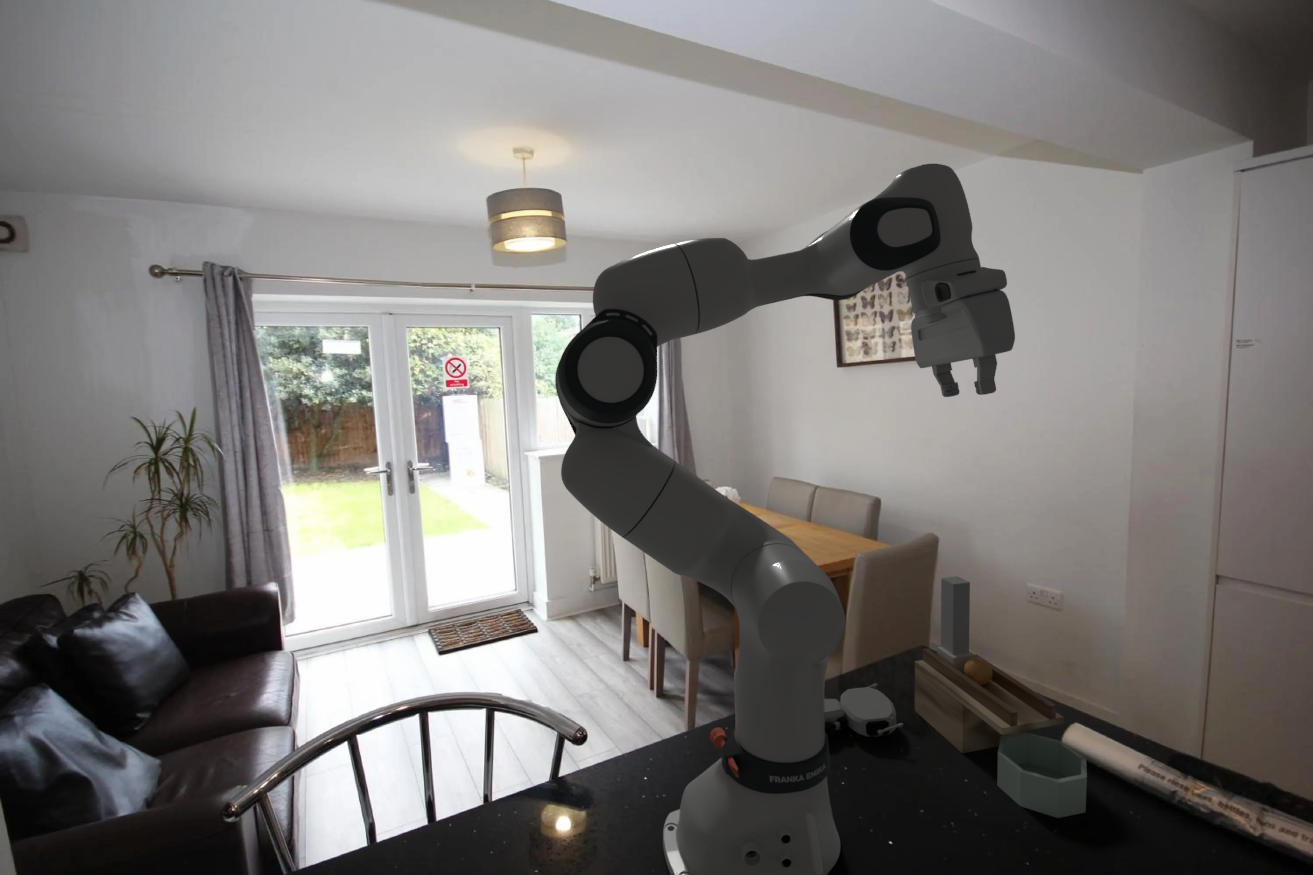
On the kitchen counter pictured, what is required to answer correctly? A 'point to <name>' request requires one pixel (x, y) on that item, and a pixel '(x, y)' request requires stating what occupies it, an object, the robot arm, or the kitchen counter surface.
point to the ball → (978, 671)
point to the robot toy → (861, 712)
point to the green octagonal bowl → (1042, 774)
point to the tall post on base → (955, 622)
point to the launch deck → (977, 705)
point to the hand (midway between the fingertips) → (968, 395)
